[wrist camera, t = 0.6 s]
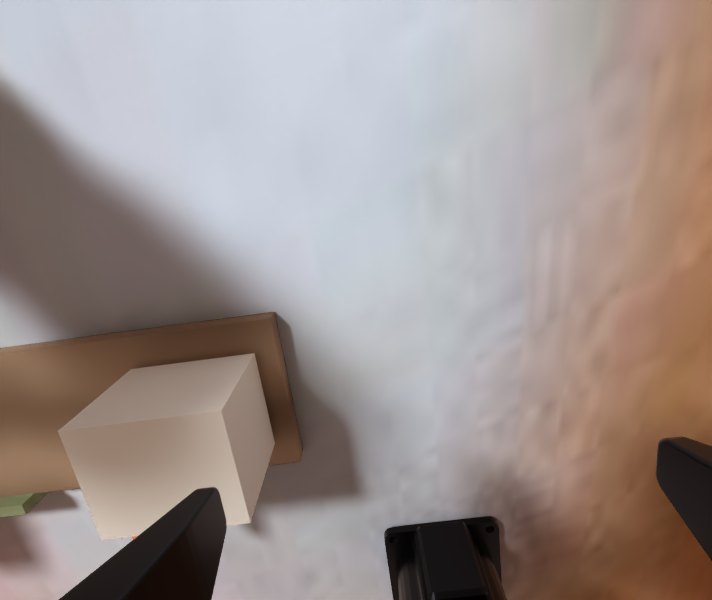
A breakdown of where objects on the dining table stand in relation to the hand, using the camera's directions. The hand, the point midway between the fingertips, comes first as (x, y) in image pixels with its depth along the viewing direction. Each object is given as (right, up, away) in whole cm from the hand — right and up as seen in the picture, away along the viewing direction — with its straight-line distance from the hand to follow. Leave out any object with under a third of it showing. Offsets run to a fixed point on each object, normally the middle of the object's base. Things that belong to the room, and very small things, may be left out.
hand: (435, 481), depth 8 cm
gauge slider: (-9, -3, +12) cm, 15 cm away
